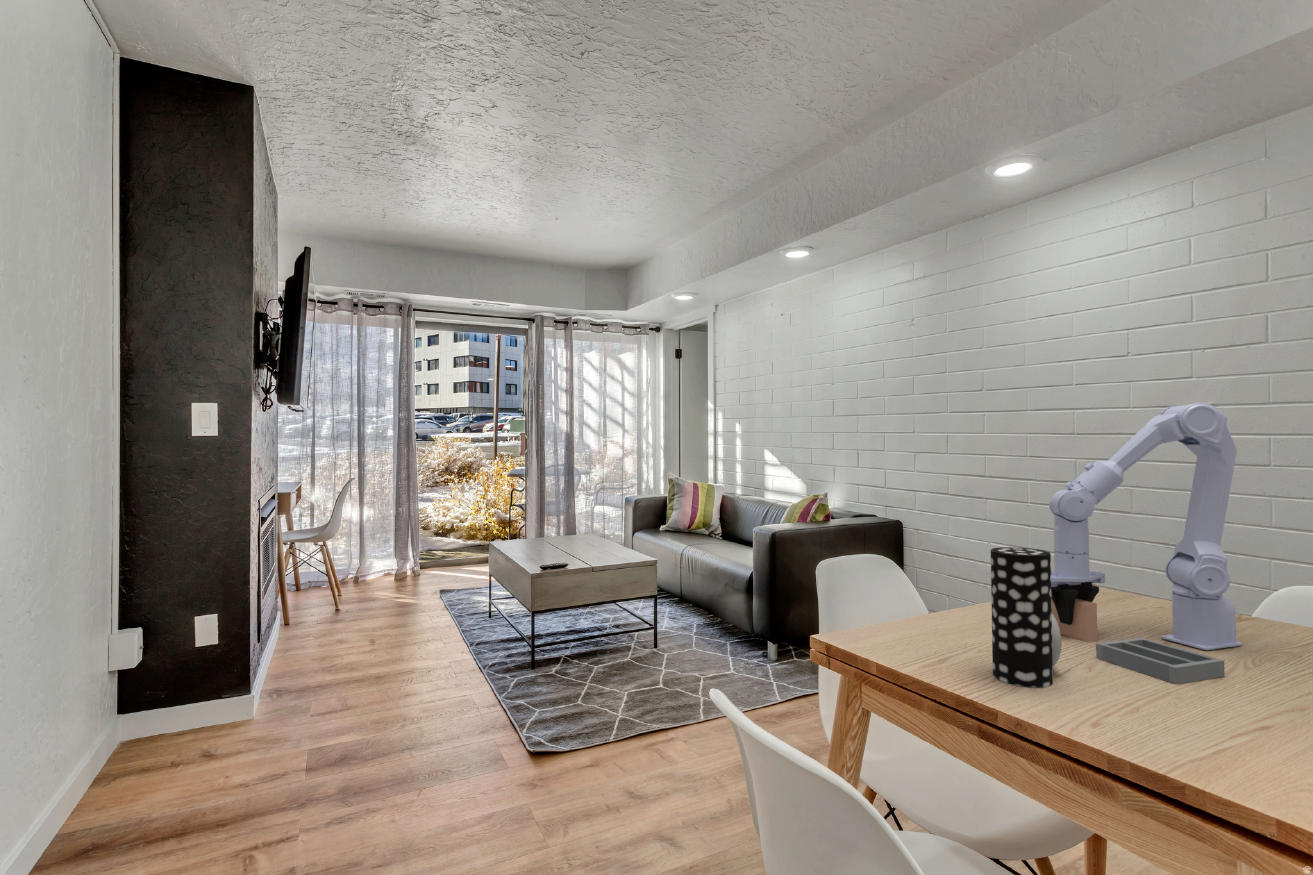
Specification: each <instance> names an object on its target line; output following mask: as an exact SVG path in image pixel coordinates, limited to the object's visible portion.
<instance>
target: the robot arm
mask: <svg viewBox="0 0 1313 875" xmlns="http://www.w3.org/2000/svg"><path fill="white" fill-rule="evenodd" d="M1227 424H1228V416H1226V415H1225V414H1224V413H1222V412H1221V411H1220V410H1219V409H1217V408H1216V407H1215V406H1214V405H1212V404H1211V403H1207V402H1194V403H1191V404H1182V405H1176V404H1175V405H1171V406H1168V407H1166V408H1165V409H1163V410H1162V411H1161V412H1160V414H1156V415H1155V416H1153V417H1152V418H1151V419H1150V420H1149V421H1148V422H1146V424H1145V425H1144V426H1143V427H1142V428H1141V429H1140V430H1139V431H1138V432H1136V433H1135V434H1134V435H1133V436H1132V437H1131V438H1129V440H1128V441H1127V442H1126V443H1125V444H1124V445H1122V446H1121V448H1120V449H1118V450H1117V452H1115V453H1114V454H1113V455H1112V456H1111V457H1110V458H1109V459H1108V460H1096V461H1095V462H1094V463H1092V462H1088V463H1087V464H1086V465H1085V466H1084V469H1085V470H1084V471H1083V472H1082V473H1081V474H1079V475H1078V476H1077V478H1075V479H1074V480H1073V481H1067V482H1066V484H1065V487H1066V488H1067V489H1061V490H1060V489H1059V490H1058V491H1057V492H1055V493H1054V494H1053V495H1052V496H1051V500H1050V502H1048V507H1049V511H1050V512H1051V513H1052V514H1053V524H1054V525H1053V552H1054V554H1053V558H1054V560H1053V561H1054V562H1053V563H1054V565H1053V566H1054V571H1053V570H1051V598H1052V600H1053V602H1054V604H1055V607H1056V610H1057V613H1058V617H1059V620H1060V622H1061V623H1064V624H1068V625H1072V622H1073V611H1074V603H1075V600H1076V599H1080V600H1084V601H1089V602H1093V603H1094V600H1095V598H1096V596H1097V595H1098V594H1099V592H1100V587H1099V586H1098V585H1094V584H1105V583H1106V573H1104V572H1100V571H1090V533H1089V532H1090V531H1089V517H1091V516H1092V515H1093V513H1094V510H1095V505H1098V504H1099V503H1100V502H1102V501H1103V500H1104V499H1105V498H1106V497H1107V496H1108V495H1109V494H1111V493H1113V491H1114V490H1116V489H1117V488H1118V487H1119V486H1120V485H1121V484H1123V483H1124V474H1125V472H1126V471H1127V470H1129V469H1130V468H1131V467H1132V466H1134V465H1135V464H1136V463H1137V462H1139V461H1140V460H1141V459H1143V458H1144V457H1145V456H1147V455H1148V454H1149V453H1150V452H1152V451H1153V450H1155V449H1156V448H1157V447H1158V446H1160V445H1162V444H1167V443H1171V442H1178V443H1181V444H1183V445H1184V446H1185V447H1186V448H1187V449H1188V450H1189V451H1190V452H1192V454H1194V455H1195V456H1196V463H1195V466H1194V467H1195V468H1194V472H1193V473H1194V474H1193V478H1192V479H1193V480H1192V485H1191V491H1190V496H1189V503H1188V506H1187V507H1188V508H1187V513H1186V519H1185V524H1184V531H1183V537H1182V538H1181V540H1180V541H1179V542H1178V543H1177V544H1176V546H1175V547H1174V549H1173V553H1172V556H1171V557H1170V558H1169V559H1168V561H1167V562H1166V565H1165V568H1164V573H1165V575H1166V577H1167V579H1168V580H1169V581H1170V582H1171V583H1172V588H1171V609H1172V610H1171V611H1172V612H1171V613H1172V616H1171V617H1172V620H1171V621H1172V634H1171V633H1170V634H1164V635H1161V636H1160V638H1161V639H1163V640H1166V641H1169V642H1174V643H1177V644H1181V645H1185V646H1187V647H1188V646H1189V647H1192V648H1197V649H1199V650H1203V651H1211V650H1217V649H1218V650H1219V649H1224V648H1225V649H1226V648H1232V647H1239V646H1243V642H1241V641H1237V614H1236V612H1237V611H1236V608H1235V606H1234V604H1233V601H1231V599H1230V598H1228V597H1227V596H1225V595H1224V594H1225V593H1226V591H1228V589H1229V587H1230V583H1231V578H1230V574H1229V571H1228V569H1227V567H1228V566H1227V564H1228V563H1227V562H1228V557H1227V556H1226V554H1225V552H1224V550H1223V549H1222V546H1221V545H1222V544H1221V543H1222V536H1223V532H1224V527H1225V521H1226V515H1227V510H1228V504H1229V498H1230V493H1231V488H1232V483H1233V482H1232V481H1233V476H1234V469H1235V463H1236V458H1237V451H1238V450H1237V445H1236V443H1235V442H1234V440H1233V437H1232V435H1231V432H1230V430H1229V428H1228V426H1227Z"/></svg>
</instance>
